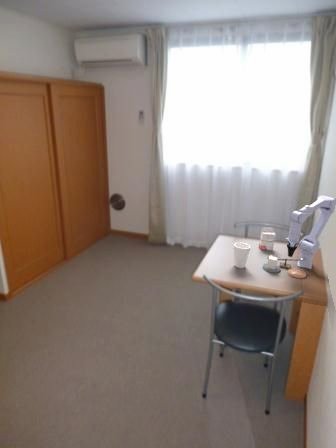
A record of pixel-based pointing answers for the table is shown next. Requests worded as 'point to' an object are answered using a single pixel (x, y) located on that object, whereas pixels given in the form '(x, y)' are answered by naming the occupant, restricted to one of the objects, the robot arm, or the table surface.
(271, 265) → the cream block
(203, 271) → the table surface
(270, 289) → the table surface
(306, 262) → the robot arm
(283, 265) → the balance
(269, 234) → the ink cartridge box
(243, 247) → the foam cup
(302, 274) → the dish terracotta
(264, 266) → the dish slate
